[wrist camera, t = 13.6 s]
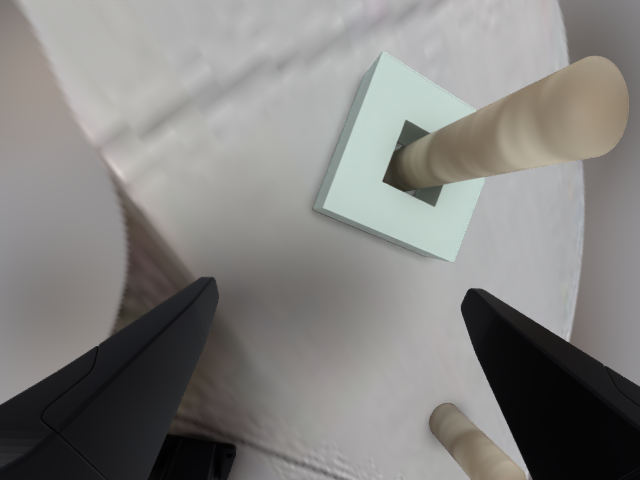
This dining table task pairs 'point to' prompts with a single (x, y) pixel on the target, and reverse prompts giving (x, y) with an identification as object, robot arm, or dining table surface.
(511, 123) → the tall pin
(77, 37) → the dining table surface
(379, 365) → the dining table surface
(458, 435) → the short pin
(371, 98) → the collar block
